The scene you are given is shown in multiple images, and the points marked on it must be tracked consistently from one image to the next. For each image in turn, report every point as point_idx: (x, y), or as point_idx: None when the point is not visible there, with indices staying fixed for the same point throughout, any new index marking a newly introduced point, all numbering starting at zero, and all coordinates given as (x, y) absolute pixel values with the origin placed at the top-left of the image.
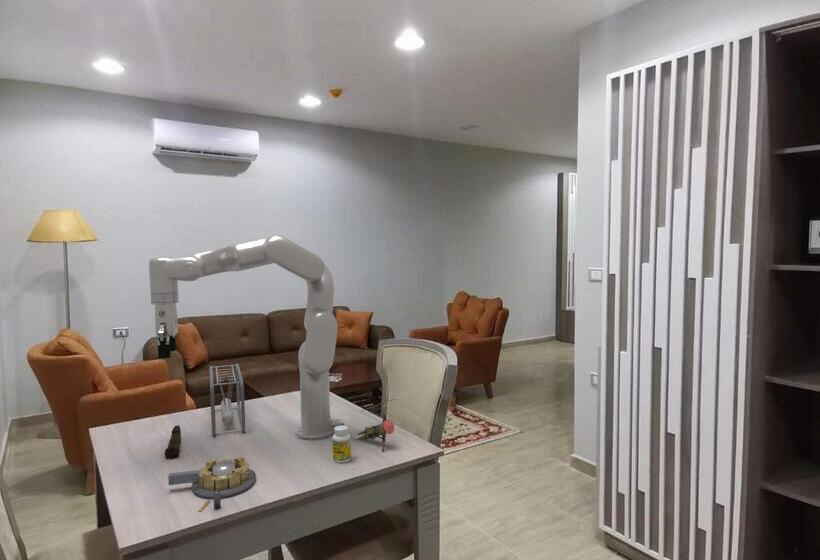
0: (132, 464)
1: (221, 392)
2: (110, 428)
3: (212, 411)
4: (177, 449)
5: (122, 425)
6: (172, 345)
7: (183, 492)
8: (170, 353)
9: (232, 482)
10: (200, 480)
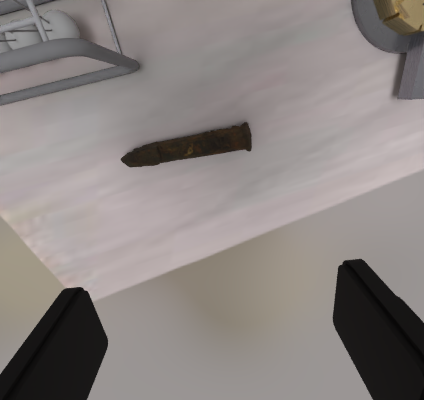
0: (254, 198)
1: (9, 31)
2: (81, 285)
3: (120, 58)
4: (248, 126)
5: (65, 272)
6: (67, 345)
7: None
8: (363, 281)
9: None
10: None
